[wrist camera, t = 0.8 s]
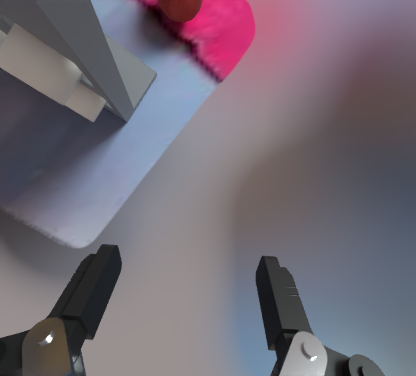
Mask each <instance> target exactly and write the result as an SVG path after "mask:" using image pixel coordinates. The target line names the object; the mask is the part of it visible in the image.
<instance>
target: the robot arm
mask: <svg viewBox="0 0 416 376" xmlns="http://www.w3.org/2000/svg"><path fill="white" fill-rule="evenodd" d="M121 267H122V261H121V257H120V252H119V248H118V246H117V245H107V244H103V245H101V246H100V248H99V250H98V251H97V253H96V254H90V255H89V256H87V257H86V258H85V259H84V260H83V261H82V262H81V263H80V265H79V267H78V268H77V270H76V273H74V275H73V276H72V278H71V281H70V282H69V283H68V285H67V287H66V288H65V290H64V291H63V293H62V295H61V296H60V298H59V300H58V301H57V303H56V304H55V306H54V308H53V309H52V311H51V313H50V314H49V315H48V316H47V318H46V319H44V320H42V321H41V322H39V323H37V324H36V325H35V326H34V327H33V328H32V329H30V330H28V331H24V332H21V333H18V334H14V335H10V336H6V337H3V338H0V376H86V372H85V368H84V362H83V357H82V352H81V347H82V345H83V343H84V340H85V339H89V340H93V338H94V336H95V333H96V331H97V329H98V326H99V323H100V321H101V319H102V316H103V314H104V312H105V309H106V307H107V304H108V302H109V299H110V297H111V294H112V292H113V289H114V287H115V284H116V282H117V280H118V277H119V275H120V272H121ZM256 286H257V291H258V296H259V302H260V307H261V312H262V318H263V323H264V328H265V334H266V339H267V345H268V350H275V351H276V355H277V361H276V363H275V365H274V368H273V370H272V373H271V375H270V376H385V375H384V374H383V372H382V371H381V369H380V368H379V367H378V366H377V365H376V364H375V363H374V362H373V361H372V360H370V359H369V358H367V357H365V356H362V355H358V354H356V355H353V356H352V357H347V356H345V355H343V354H340V353H338V352H336V351H333V350H331V349H329V348H327V347H326V346H324V345H323V344H322V343H321V342H320V341H319V340H318V339H317V338H316V337H315V335H314V334H313V332H312V330H311V328H310V325H309V322H308V319H307V317H306V314H305V311H304V308H303V305H302V302H301V299H300V297H299V294H298V291H297V289H296V285H295V282H294V279H293V277H292V275H291V274H290V273H289V271H288V270H287V269H286V268H285V267H280V265H279V262H278V259H277V258H276V257H273V256H262V257H261V260H260V262H259V265H258V268H257V271H256Z"/></svg>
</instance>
